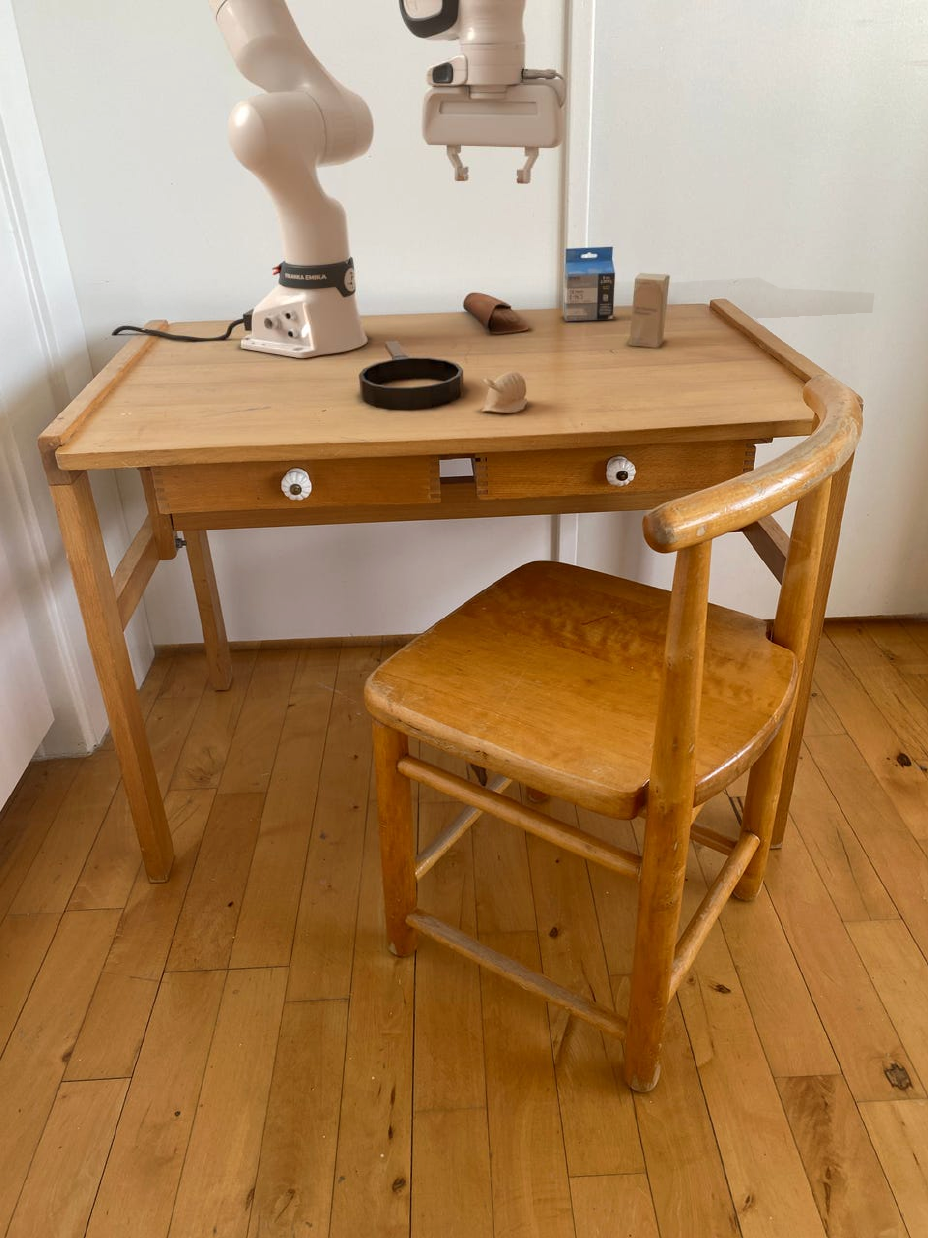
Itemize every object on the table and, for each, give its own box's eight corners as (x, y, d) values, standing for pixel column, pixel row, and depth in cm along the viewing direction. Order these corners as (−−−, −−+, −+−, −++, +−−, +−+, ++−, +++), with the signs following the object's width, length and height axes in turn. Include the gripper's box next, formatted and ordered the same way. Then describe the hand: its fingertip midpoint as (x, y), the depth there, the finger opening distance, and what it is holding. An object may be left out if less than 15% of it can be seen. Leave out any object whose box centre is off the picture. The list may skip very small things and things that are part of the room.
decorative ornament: (535, 405, 131) (535, 368, 129) (492, 420, 127) (492, 382, 124) (515, 399, 134) (515, 363, 131) (472, 413, 129) (471, 376, 127)
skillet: (473, 403, 133) (473, 381, 132) (369, 414, 131) (367, 392, 129) (436, 355, 155) (435, 336, 153) (346, 364, 152) (344, 345, 150)
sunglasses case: (533, 327, 166) (514, 296, 162) (501, 351, 166) (482, 320, 163) (504, 305, 181) (486, 276, 177) (475, 327, 181) (457, 299, 178)
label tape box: (565, 322, 170) (567, 251, 164) (563, 316, 174) (564, 247, 167) (613, 320, 170) (616, 249, 164) (610, 315, 174) (613, 245, 167)
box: (628, 345, 156) (632, 277, 150) (634, 339, 159) (638, 272, 153) (659, 348, 154) (665, 279, 148) (664, 341, 157) (670, 273, 151)
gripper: (573, 67, 123) (568, 181, 130) (433, 68, 130) (436, 176, 137) (559, 69, 118) (555, 187, 126) (414, 70, 125) (418, 182, 132)
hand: (492, 181), depth 131 cm, fingers open, 8 cm apart
